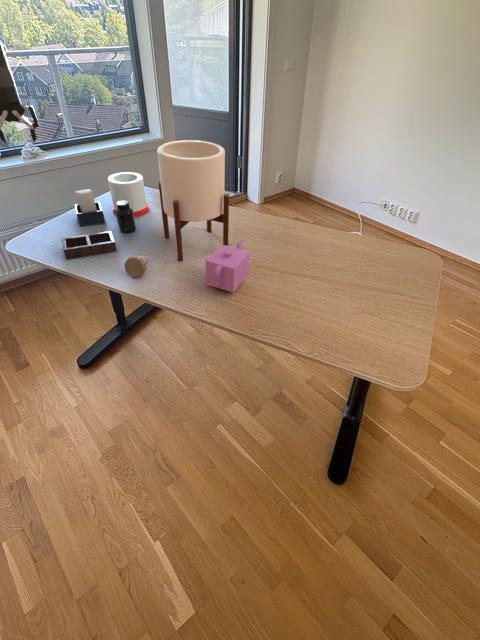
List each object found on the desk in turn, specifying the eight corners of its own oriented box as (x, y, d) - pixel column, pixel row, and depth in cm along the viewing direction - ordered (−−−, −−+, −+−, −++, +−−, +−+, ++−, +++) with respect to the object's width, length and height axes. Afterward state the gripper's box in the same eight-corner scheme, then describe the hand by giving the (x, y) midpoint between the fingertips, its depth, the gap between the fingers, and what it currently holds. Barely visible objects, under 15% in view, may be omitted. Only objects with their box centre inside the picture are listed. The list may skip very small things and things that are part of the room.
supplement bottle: (120, 226, 148) (115, 199, 140) (137, 226, 148) (132, 199, 140) (118, 234, 142) (112, 206, 134) (135, 234, 143) (130, 206, 135)
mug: (154, 263, 127) (151, 250, 118) (143, 286, 124) (140, 273, 114) (134, 256, 127) (131, 242, 118) (123, 278, 124) (118, 265, 114)
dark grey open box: (79, 226, 146) (76, 214, 142) (77, 216, 153) (74, 204, 149) (105, 223, 149) (102, 210, 146) (102, 213, 156) (99, 201, 153)
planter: (176, 263, 127) (167, 162, 104) (161, 236, 143) (150, 142, 119) (232, 253, 135) (235, 156, 111) (212, 228, 150) (211, 138, 126)
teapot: (229, 300, 112) (230, 267, 104) (202, 291, 115) (201, 259, 107) (253, 270, 126) (256, 239, 118) (229, 263, 129) (229, 232, 121)
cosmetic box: (96, 215, 153) (89, 187, 145) (99, 219, 151) (92, 191, 143) (82, 218, 151) (74, 190, 143) (85, 222, 148) (77, 194, 140)
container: (155, 207, 164) (151, 175, 154) (134, 220, 153) (128, 186, 143) (127, 200, 168) (122, 169, 159) (105, 212, 157) (98, 179, 148)
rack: (66, 259, 126) (63, 250, 124) (64, 247, 133) (61, 238, 130) (116, 251, 132) (114, 242, 130) (113, 239, 139) (111, 230, 136)
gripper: (27, 82, 111) (43, 138, 121) (-25, 82, 106) (-4, 140, 116) (27, 85, 105) (43, 143, 116) (-28, 85, 101) (-6, 145, 111)
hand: (20, 141), depth 116 cm, fingers open, 8 cm apart
